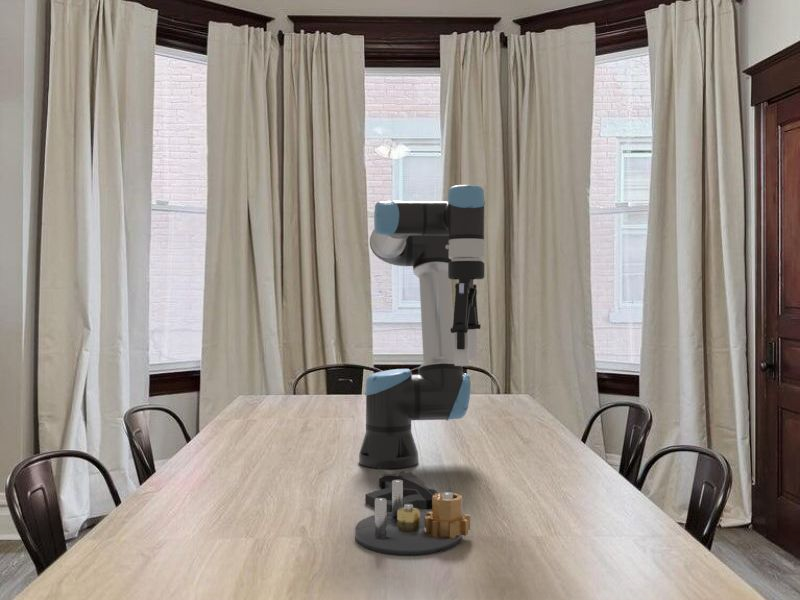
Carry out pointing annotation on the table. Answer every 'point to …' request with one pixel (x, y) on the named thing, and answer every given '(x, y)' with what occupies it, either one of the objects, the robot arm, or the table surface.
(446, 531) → the planet gear
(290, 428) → the table surface
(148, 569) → the table surface
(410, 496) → the pistol
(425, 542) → the carrier
